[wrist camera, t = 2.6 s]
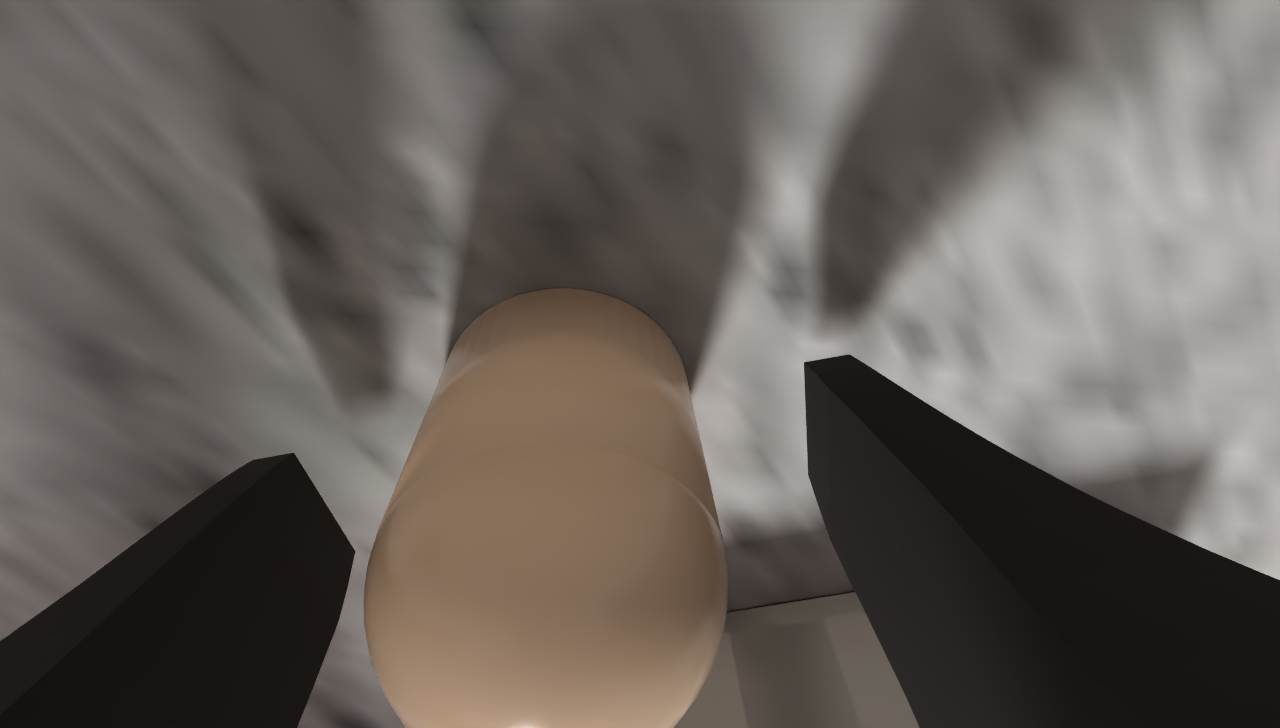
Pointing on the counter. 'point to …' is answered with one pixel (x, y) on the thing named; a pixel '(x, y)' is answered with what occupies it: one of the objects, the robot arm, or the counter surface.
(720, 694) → the carton
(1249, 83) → the counter surface
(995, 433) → the counter surface
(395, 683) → the egg
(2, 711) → the robot arm
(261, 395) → the counter surface
